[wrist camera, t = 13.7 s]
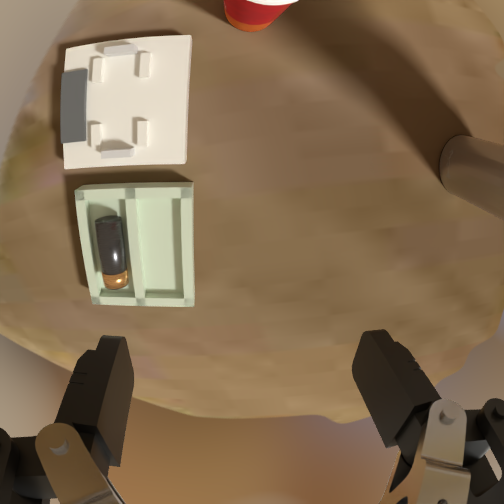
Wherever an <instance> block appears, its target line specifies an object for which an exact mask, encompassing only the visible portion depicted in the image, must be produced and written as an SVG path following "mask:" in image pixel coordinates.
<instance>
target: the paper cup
mask: <svg viewBox="0 0 504 504" xmlns="http://www.w3.org/2000/svg"><path fill="white" fill-rule="evenodd" d="M296 1H298V0H224V10H225V15H226V18H227V19H228V21H229V22H230V23H231V24H232V25H233V26H234V27H235V28H237V29H239V30H242V31H247V32H254V31H259V30H262V29H264V28H266V27H267V26H269V25H270V24H271V23H272V22H273V21H274V20H275V19H277V18H278V17H279V16H280V15H281V14H282V13H283V12H284V11H285V10H286V9H287V8H288V7H289V6H290V5H291V4H292V3H293V2H296Z"/></svg>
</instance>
